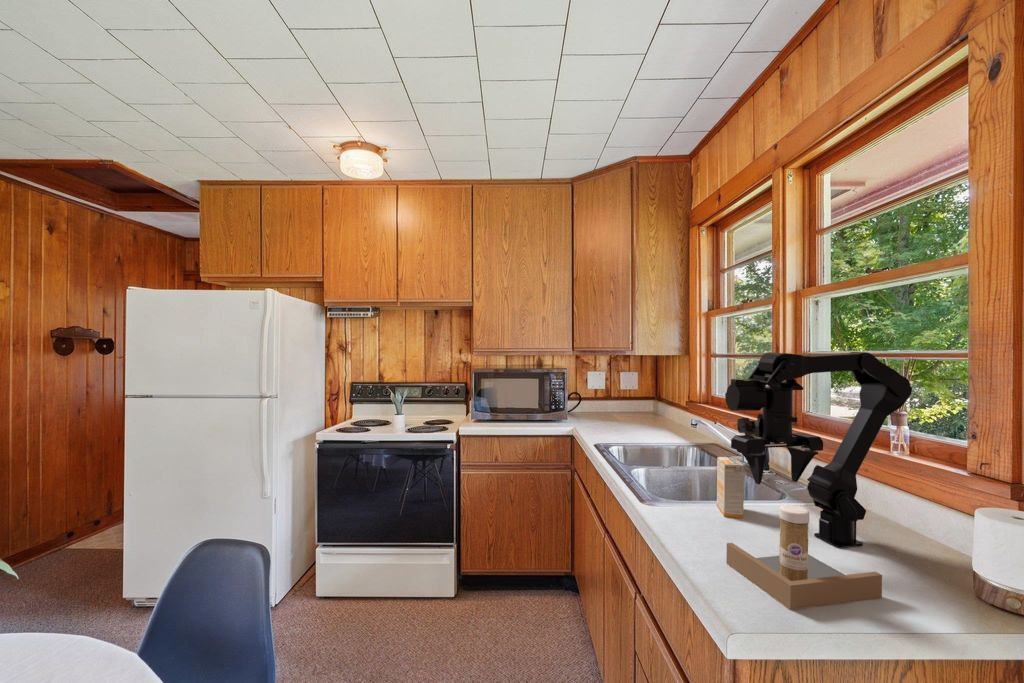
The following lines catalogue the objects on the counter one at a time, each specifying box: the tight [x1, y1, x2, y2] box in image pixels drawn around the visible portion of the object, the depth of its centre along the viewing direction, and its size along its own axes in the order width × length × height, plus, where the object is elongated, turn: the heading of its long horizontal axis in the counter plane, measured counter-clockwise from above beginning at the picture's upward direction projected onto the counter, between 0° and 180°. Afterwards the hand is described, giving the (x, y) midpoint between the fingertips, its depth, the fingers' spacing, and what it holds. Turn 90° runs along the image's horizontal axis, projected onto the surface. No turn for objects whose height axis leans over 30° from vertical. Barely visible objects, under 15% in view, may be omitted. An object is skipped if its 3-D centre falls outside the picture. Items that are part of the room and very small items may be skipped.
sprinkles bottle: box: [778, 504, 810, 581], centre depth 85 cm, size 5×5×14 cm
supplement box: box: [716, 456, 745, 519], centre depth 122 cm, size 8×5×13 cm, turn 168°
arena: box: [726, 542, 883, 611], centre depth 88 cm, size 18×16×4 cm
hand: (776, 482), depth 104 cm, fingers open, 9 cm apart
